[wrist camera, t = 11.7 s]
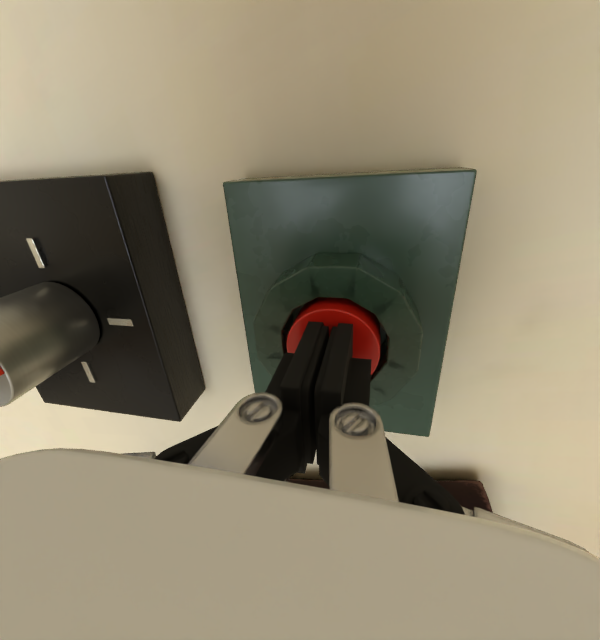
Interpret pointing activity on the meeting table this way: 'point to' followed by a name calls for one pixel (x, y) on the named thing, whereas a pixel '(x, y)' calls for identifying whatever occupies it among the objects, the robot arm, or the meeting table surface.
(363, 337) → the button
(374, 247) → the button base
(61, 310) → the hob knob
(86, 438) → the meeting table surface
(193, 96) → the meeting table surface
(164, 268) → the knob base
